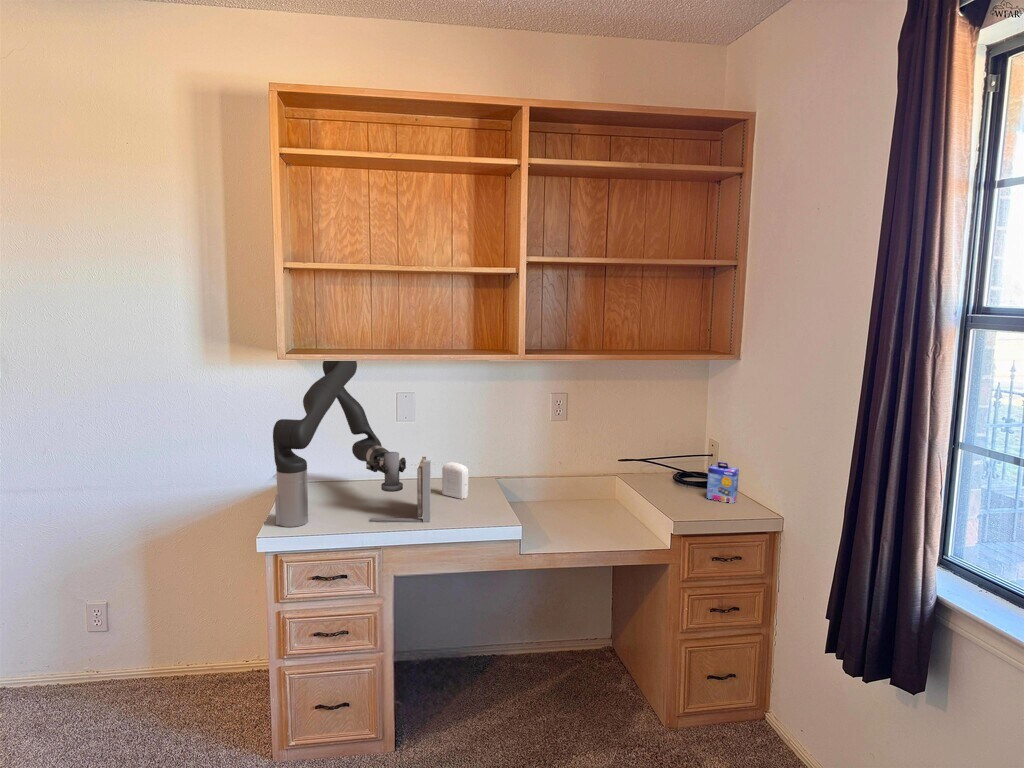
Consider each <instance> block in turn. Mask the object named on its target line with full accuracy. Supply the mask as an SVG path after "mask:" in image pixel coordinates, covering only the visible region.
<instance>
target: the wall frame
mask: <svg viewBox="0 0 1024 768" xmlns="http://www.w3.org/2000/svg"><path fill="white" fill-rule="evenodd" d="M431 462H432V461H431V460H430V459H426V460H423V514H422V517H416V518H415V517H413V518H412V517H411V518H410V517H409V518H408V517H406V518H405V517H401V518H400V517H398V518H397V517H396V518H394V517H385V518H384V517H381V518H380V517H370V518H369V523H422V522H423V523H430V522H431V482H430V479H431V474H432V473H431Z"/></svg>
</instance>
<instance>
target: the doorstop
mask: <svg viewBox="0 0 1024 768" xmlns="http://www.w3.org/2000/svg"><path fill="white" fill-rule="evenodd" d="M384 455H385V466H386V467H387V469H388V473H387V474H384V482H382V483H381V491H383V492H387V493H391V492H393V493H394V492H395V493H396V492H399V491H402V490H403V489H404V487H403V486H404V484H403V483H402V482H401V481H400V471H399V460H400V453H399V451H389V452H386V453H385V454H384Z"/></svg>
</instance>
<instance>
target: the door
mask: <svg viewBox="0 0 1024 768" xmlns="http://www.w3.org/2000/svg"><path fill="white" fill-rule="evenodd" d="M423 460H427V456H422V457H421V460H420V462H419V464H418V468H417V471H416V472H417V475H416V476H417V479H416V482H417V483H416V485H417V488H416V489H417V491H416V493H417V494H416V495H417V498H416V499H417V502H416V503H417V504H416V505H417V517H416V518H423ZM431 482H432V481H431V478H430V483H431Z"/></svg>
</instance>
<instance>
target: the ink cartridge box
mask: <svg viewBox="0 0 1024 768" xmlns="http://www.w3.org/2000/svg"><path fill="white" fill-rule="evenodd" d="M739 472H740V470H739V468H738V467H737V468H736V467H730V466H729V464H728V463H727V462H723V461H717V464H712V465H710V466H709V467H708V468H707V484H706V487H707V488H706V499H707V498H708V499H714V500H719V501H724V502H729V503H733V504H735V503H736V502H737V501H738V491H739V490H738V489H739V475H740V474H739ZM708 499H707V500H708ZM714 500H713V501H714ZM719 501H718V502H719ZM724 502H723V503H724ZM734 502H735V503H734ZM729 503H728V504H729Z"/></svg>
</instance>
